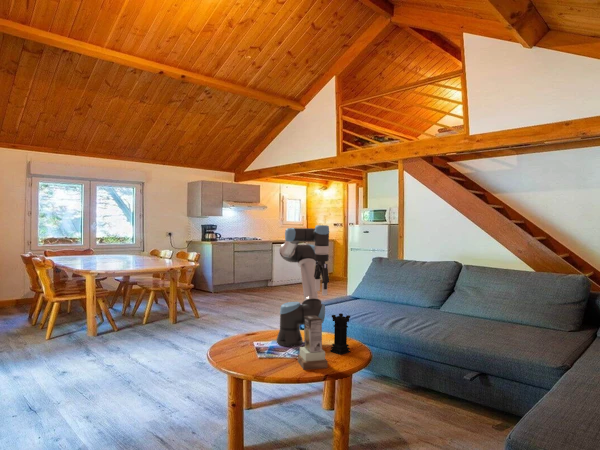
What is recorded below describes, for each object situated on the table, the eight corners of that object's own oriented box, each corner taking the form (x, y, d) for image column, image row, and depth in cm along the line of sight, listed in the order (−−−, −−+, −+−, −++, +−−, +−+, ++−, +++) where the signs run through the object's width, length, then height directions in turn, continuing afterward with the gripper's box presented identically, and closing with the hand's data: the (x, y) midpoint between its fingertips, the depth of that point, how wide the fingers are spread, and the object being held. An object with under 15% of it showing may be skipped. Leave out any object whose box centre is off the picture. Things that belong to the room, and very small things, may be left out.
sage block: (299, 355, 208) (299, 347, 208) (318, 353, 210) (318, 345, 210) (305, 361, 198) (305, 353, 198) (325, 359, 201) (325, 351, 201)
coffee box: (303, 347, 207) (303, 315, 207) (315, 346, 209) (315, 314, 209) (310, 352, 198) (309, 319, 198) (322, 351, 200) (322, 318, 200)
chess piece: (340, 355, 219) (340, 317, 219) (329, 351, 225) (330, 315, 225) (350, 352, 224) (351, 315, 224) (340, 348, 230) (340, 313, 230)
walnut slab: (297, 362, 208) (297, 354, 208) (320, 360, 211) (320, 353, 211) (303, 371, 196) (303, 362, 196) (327, 369, 199) (327, 361, 199)
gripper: (308, 252, 231) (308, 289, 232) (321, 255, 207) (320, 297, 207) (321, 251, 233) (320, 289, 233) (335, 255, 209) (334, 297, 209)
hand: (320, 293), depth 220 cm, fingers open, 13 cm apart
